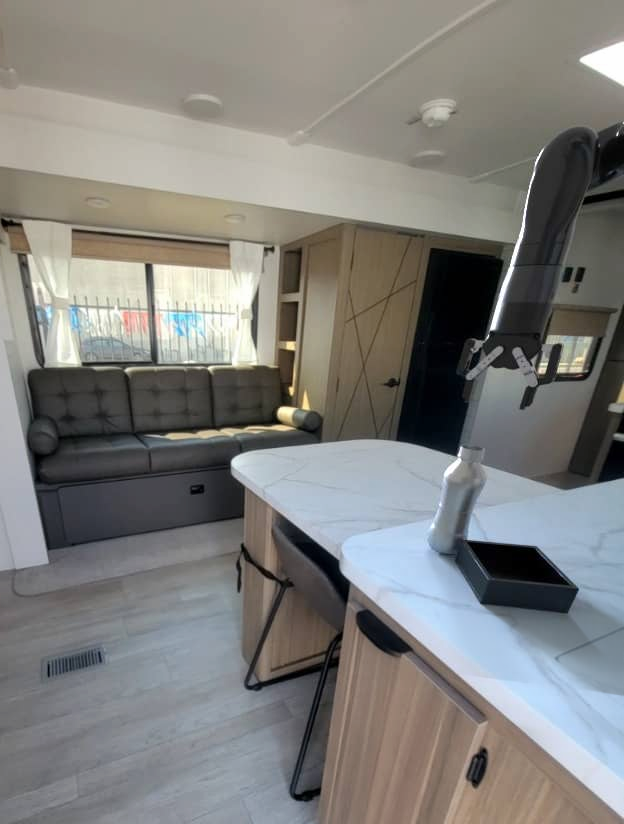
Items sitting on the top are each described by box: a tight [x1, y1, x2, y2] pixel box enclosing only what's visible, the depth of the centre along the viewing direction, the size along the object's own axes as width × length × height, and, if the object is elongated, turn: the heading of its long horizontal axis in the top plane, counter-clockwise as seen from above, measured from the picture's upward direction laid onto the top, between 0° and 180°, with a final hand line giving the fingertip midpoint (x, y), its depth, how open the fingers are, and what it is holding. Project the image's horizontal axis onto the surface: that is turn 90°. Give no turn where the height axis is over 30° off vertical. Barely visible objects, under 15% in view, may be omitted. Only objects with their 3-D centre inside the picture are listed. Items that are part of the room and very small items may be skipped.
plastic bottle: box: [426, 444, 487, 555], centre depth 72 cm, size 6×7×20 cm
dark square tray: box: [454, 539, 580, 614], centre depth 66 cm, size 12×12×4 cm
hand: (494, 405), depth 71 cm, fingers open, 8 cm apart
